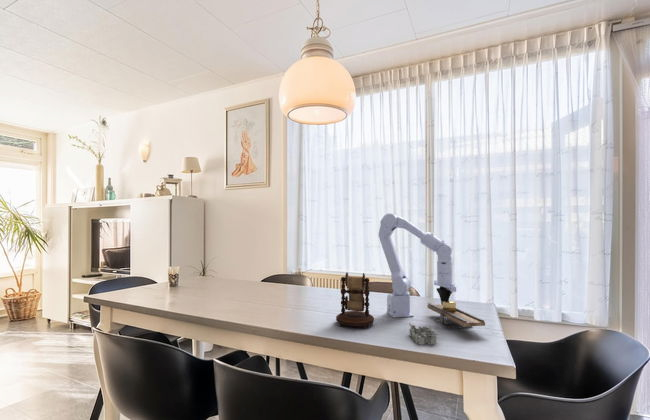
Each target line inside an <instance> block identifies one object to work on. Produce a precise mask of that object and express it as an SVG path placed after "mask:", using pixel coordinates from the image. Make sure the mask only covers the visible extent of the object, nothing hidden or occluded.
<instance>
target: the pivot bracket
mask: <svg viewBox="0 0 650 420" xmlns="http://www.w3.org/2000/svg"><path fill="white" fill-rule="evenodd" d="M439 316H440V317H439V319H435V320H434V322H435V323H436V324H437V325H439V326H440V327H442V328H443V329H445V330H448V329H470V328H473V326H466V327H464V326H462V325H460V324H458V323H456V322H454V321H452V320H450V319H448V318H446V317H444V314H443V313H440V314H439ZM445 318H446V319H445Z"/></svg>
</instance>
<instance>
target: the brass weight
mask: <svg viewBox="0 0 650 420" xmlns="http://www.w3.org/2000/svg"><path fill="white" fill-rule="evenodd" d="M456 308H457V301H454V300H449V301H443V310H445V311H447V312H456Z"/></svg>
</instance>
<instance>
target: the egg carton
mask: <svg viewBox="0 0 650 420" xmlns="http://www.w3.org/2000/svg"><path fill="white" fill-rule="evenodd" d="M408 325H409V326H410V329H409V335H410V337H412V339H413V340H414V339H415V340H414V341H415V343H416V344H419V343H420V345H425V344H429V343H430V344H429V345H435V344H436V343H437V335H438V334H437V333H436V331H435V330H434V329H433V328H432V327H431V326H423V327H421V325H419V327H418V328H417V327H416V325H414V324H411V323H409V324H408Z"/></svg>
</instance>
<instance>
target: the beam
mask: <svg viewBox="0 0 650 420" xmlns="http://www.w3.org/2000/svg"><path fill="white" fill-rule="evenodd" d="M427 309H429V310H431V311H433V312H435V313H437V314H438V315H440V313H443V314H444V318H448V319H450V320H452V321H454V322H456V323H458V324H460V325H462V326H464V327H466V326H472V327H485V326H486V322H485V320H484V319H482V318H480V317H478V316H475V315H473V314H471V313H468V312H466V311H464V310H461V309H460V308H457V307H456V312H447V311H445V310H443V306H442V304H441V303H440V304H432V303H430V302H429V303H427Z"/></svg>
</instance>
